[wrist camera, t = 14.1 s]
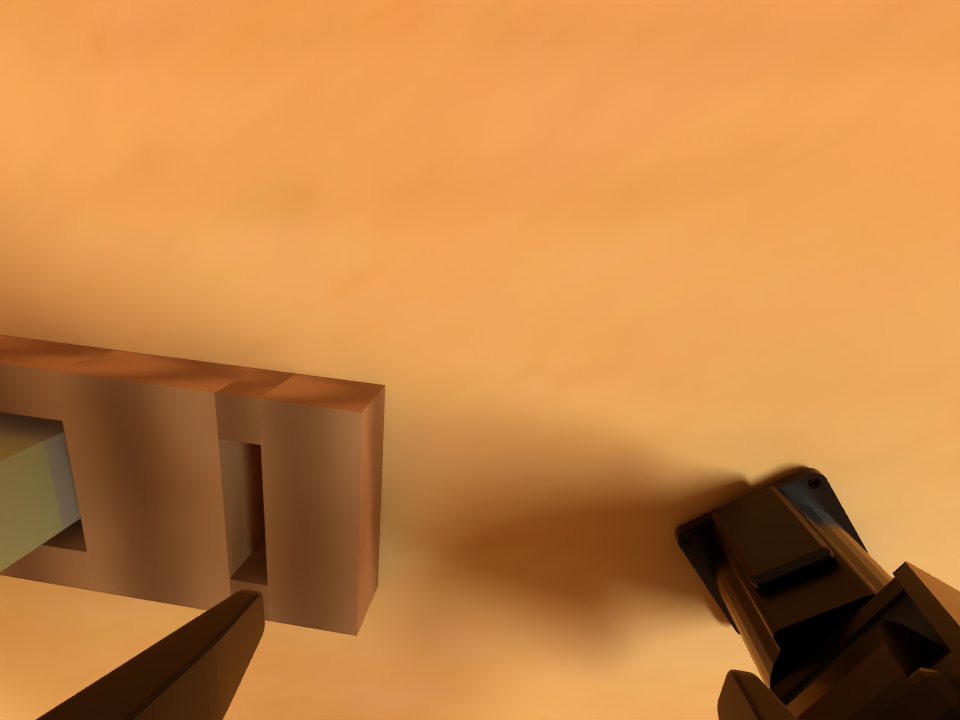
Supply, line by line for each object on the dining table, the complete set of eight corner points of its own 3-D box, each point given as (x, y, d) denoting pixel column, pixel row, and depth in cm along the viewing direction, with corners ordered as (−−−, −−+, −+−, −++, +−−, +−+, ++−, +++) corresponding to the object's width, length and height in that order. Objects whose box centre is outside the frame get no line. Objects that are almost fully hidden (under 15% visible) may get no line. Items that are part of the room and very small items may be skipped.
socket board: (385, 385, 21) (361, 412, 18) (377, 585, 24) (356, 635, 21) (-68, 326, 22) (-155, 342, 20) (-16, 522, 26) (-85, 560, 23)
